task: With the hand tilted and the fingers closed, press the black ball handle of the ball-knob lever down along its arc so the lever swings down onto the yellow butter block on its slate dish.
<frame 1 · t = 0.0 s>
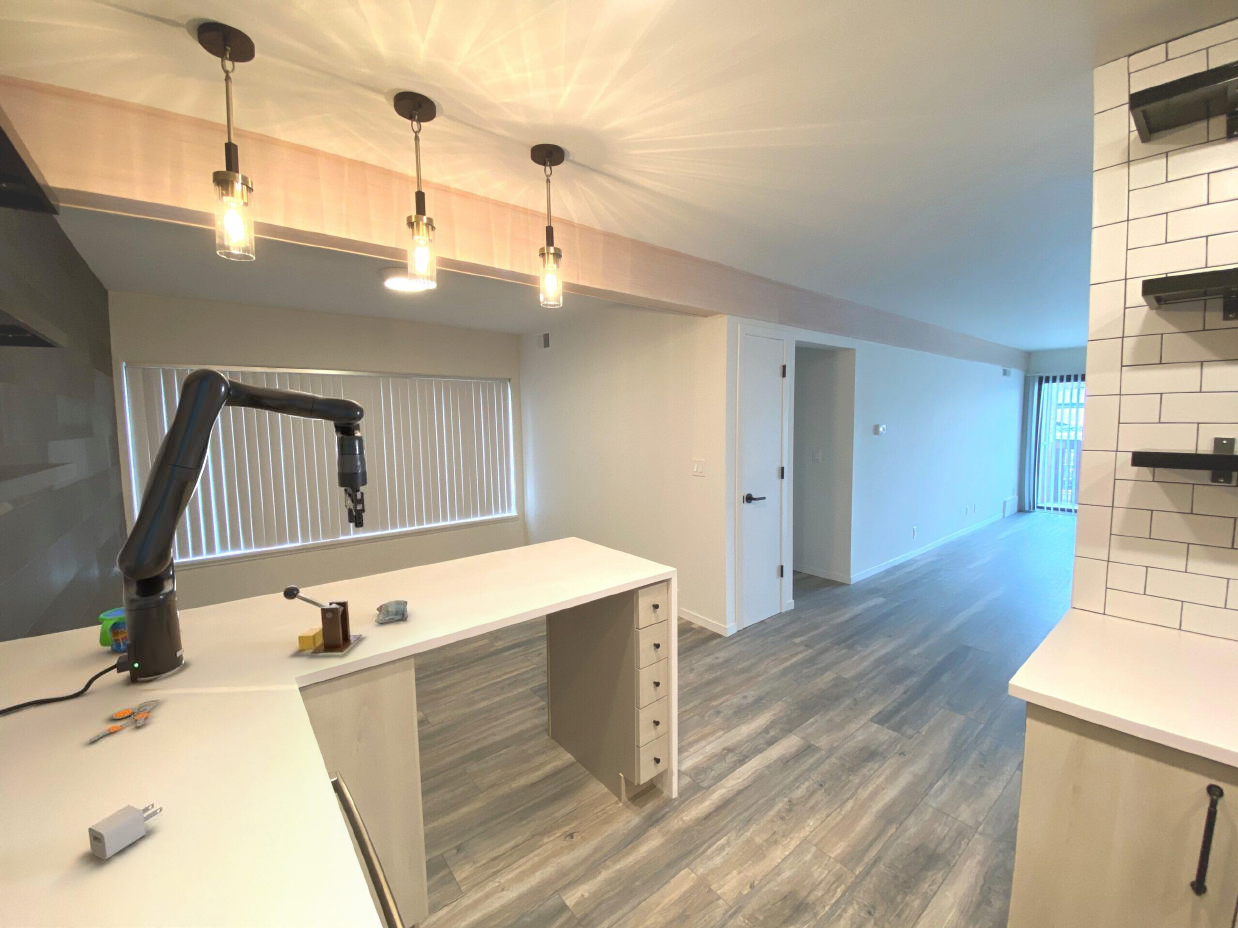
hand: (355, 525, 147), 29 cm above the countertop, tool pointing down, fingers open, 8 cm apart
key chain: (128, 721, 102), on the countertop
butter: (312, 648, 133), on the countertop
ball-knob lever: (312, 601, 132), point 13 cm above the countertop, hinge at 26.0°
usb wall charger: (130, 838, 73), on the countertop
brown lever base bracket: (337, 647, 133), on the countertop
snack cup: (131, 647, 136), on the countertop
packaged food: (391, 620, 151), on the countertop
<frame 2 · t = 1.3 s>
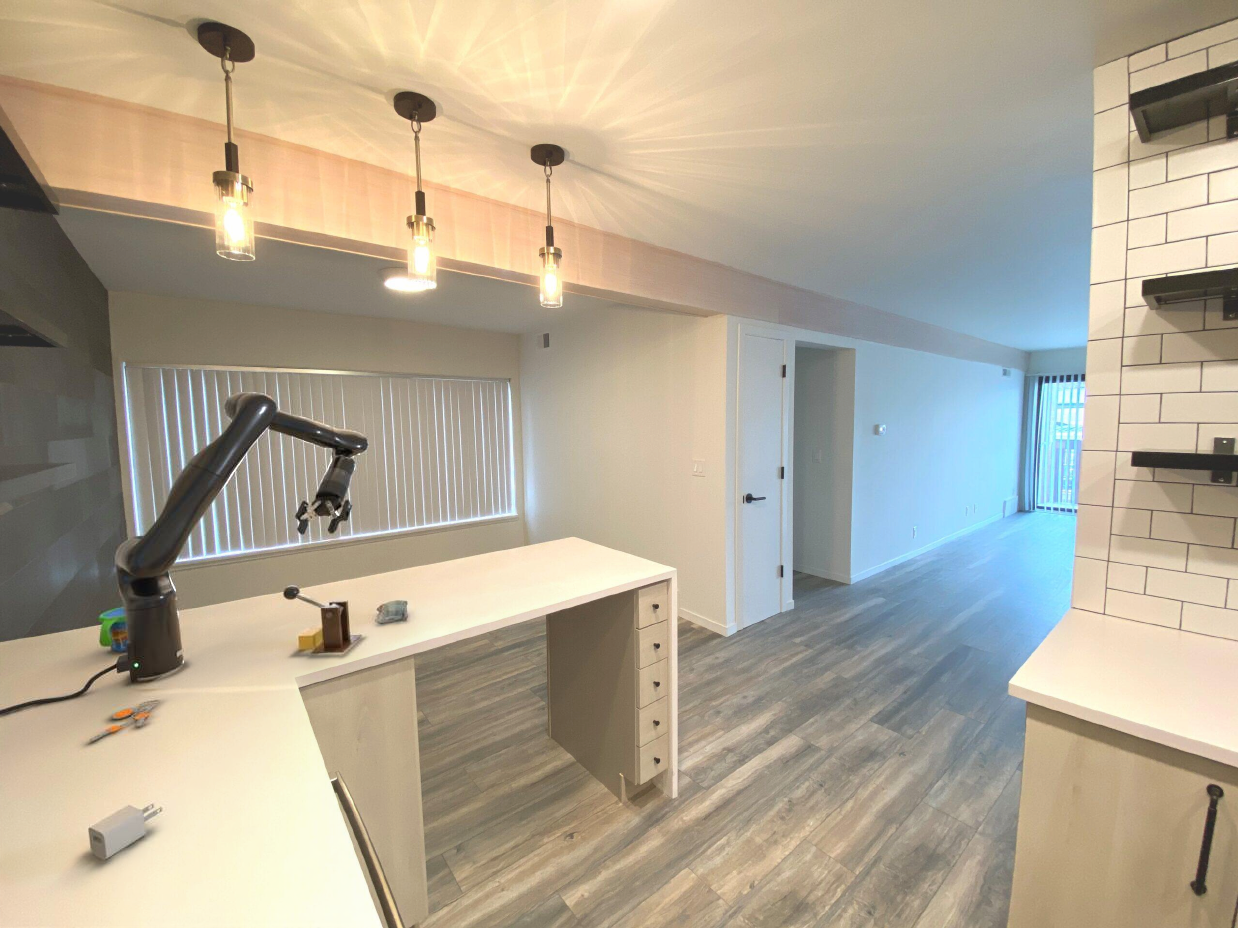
hand: (315, 532, 143), 28 cm above the countertop, tool tilted 45°, fingers open, 8 cm apart
nothing on the countertop moved.
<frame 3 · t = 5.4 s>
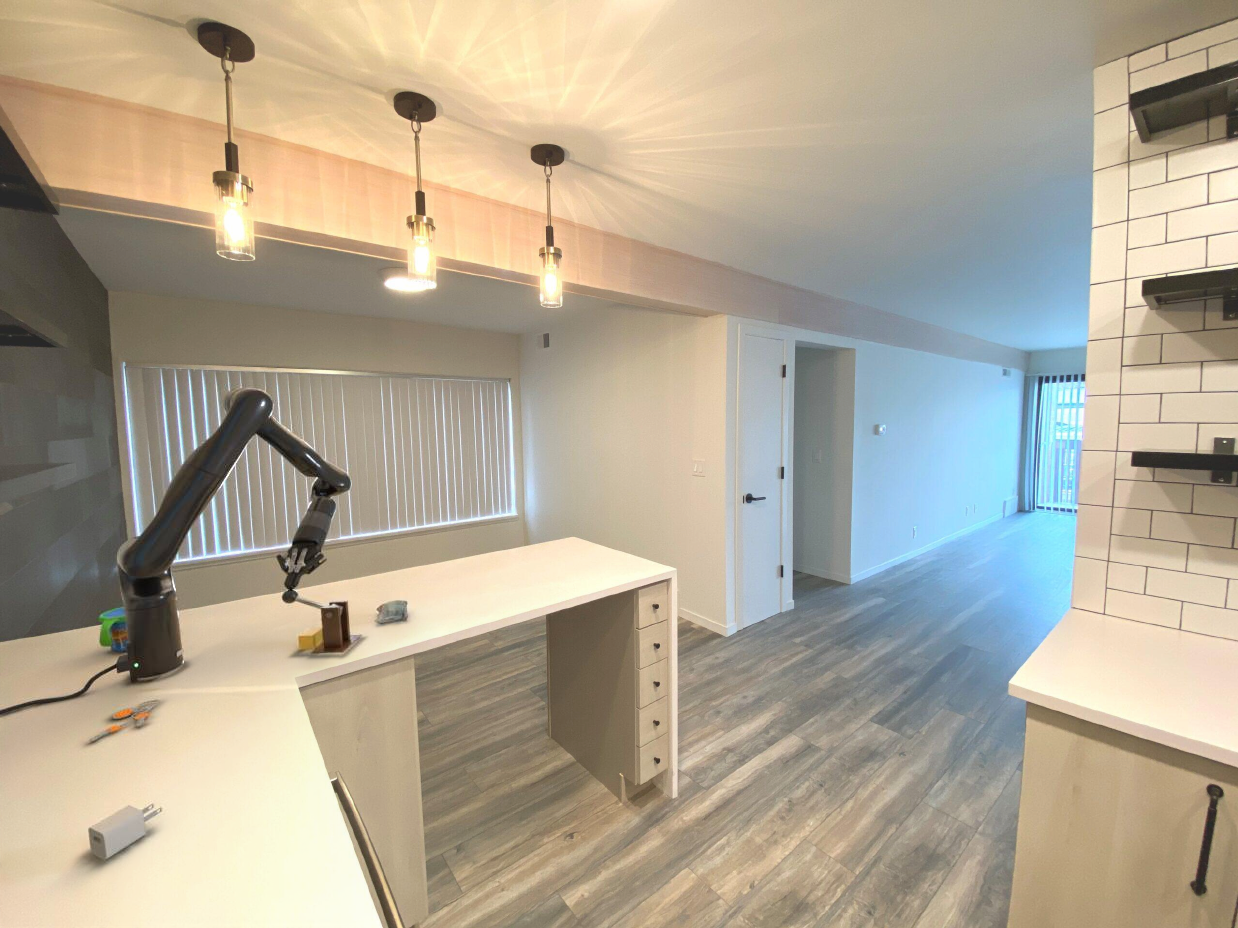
hand: (289, 587, 131), 17 cm above the countertop, tool tilted 45°, fingers closed
ball-knob lever: (311, 603, 132), point 12 cm above the countertop, hinge at 20.9°
everything else where it was.
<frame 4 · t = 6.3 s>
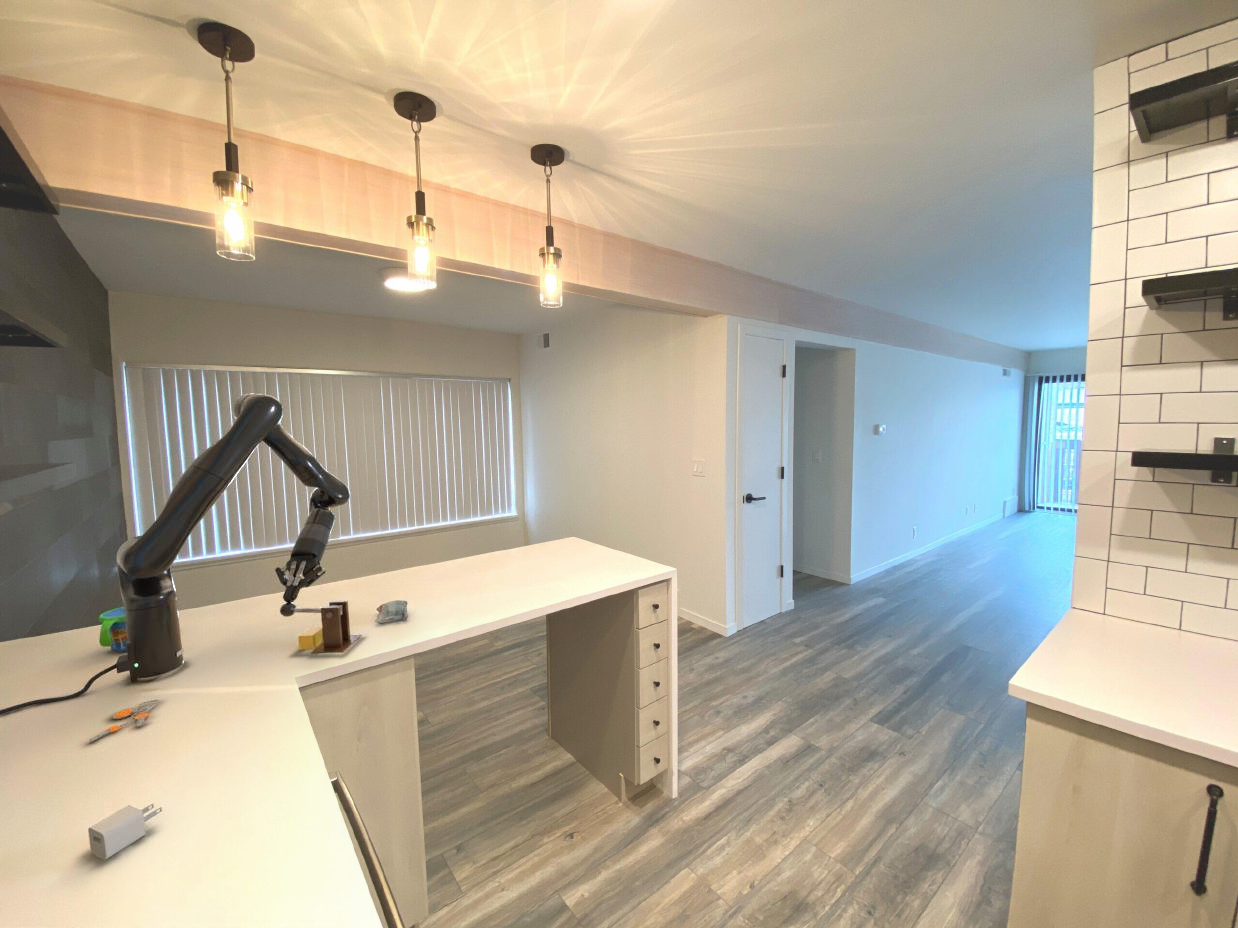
hand: (288, 601, 131), 13 cm above the countertop, tool tilted 45°, fingers closed
ball-knob lever: (310, 610, 132), point 10 cm above the countertop, hinge at 3.6°
everything else where it was.
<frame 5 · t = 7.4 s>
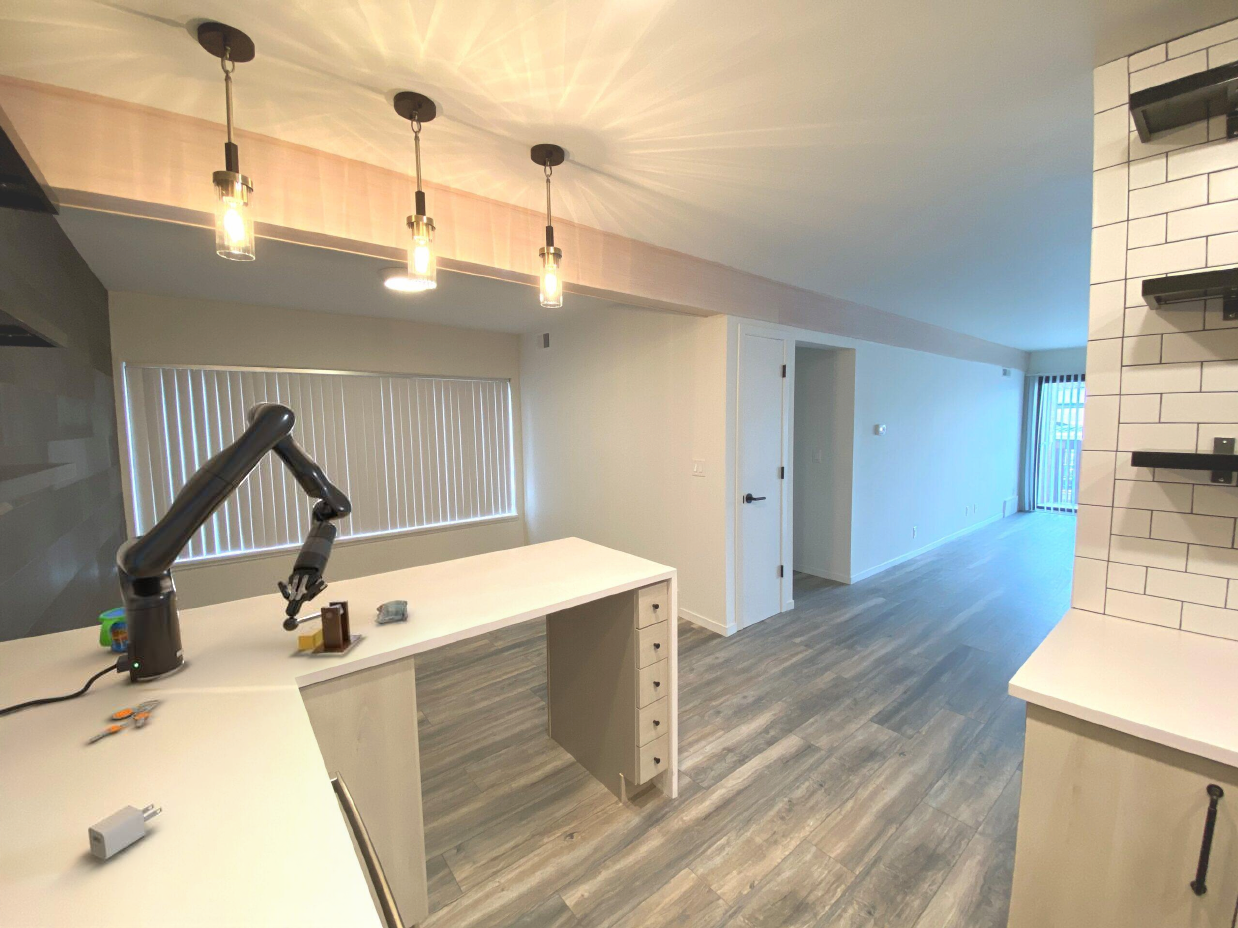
hand: (290, 615, 132), 9 cm above the countertop, tool tilted 45°, fingers closed
ball-knob lever: (312, 617, 132), point 8 cm above the countertop, hinge at -15.3°, touching gripper
everything else where it was.
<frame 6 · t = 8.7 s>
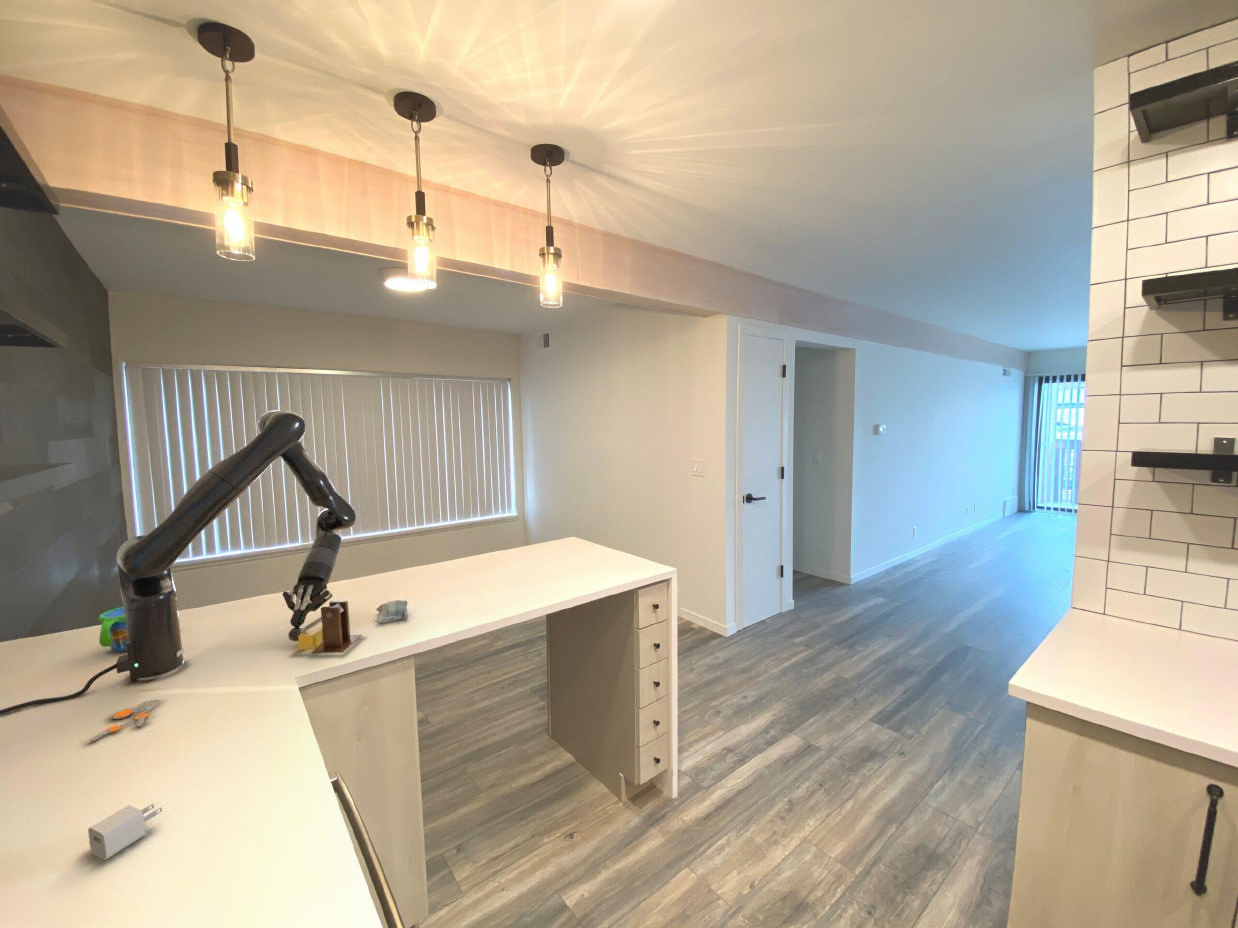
hand: (295, 625, 132), 6 cm above the countertop, tool tilted 45°, fingers closed
ball-knob lever: (315, 622, 132), point 7 cm above the countertop, hinge at -29.9°, touching butter, gripper
everything else where it was.
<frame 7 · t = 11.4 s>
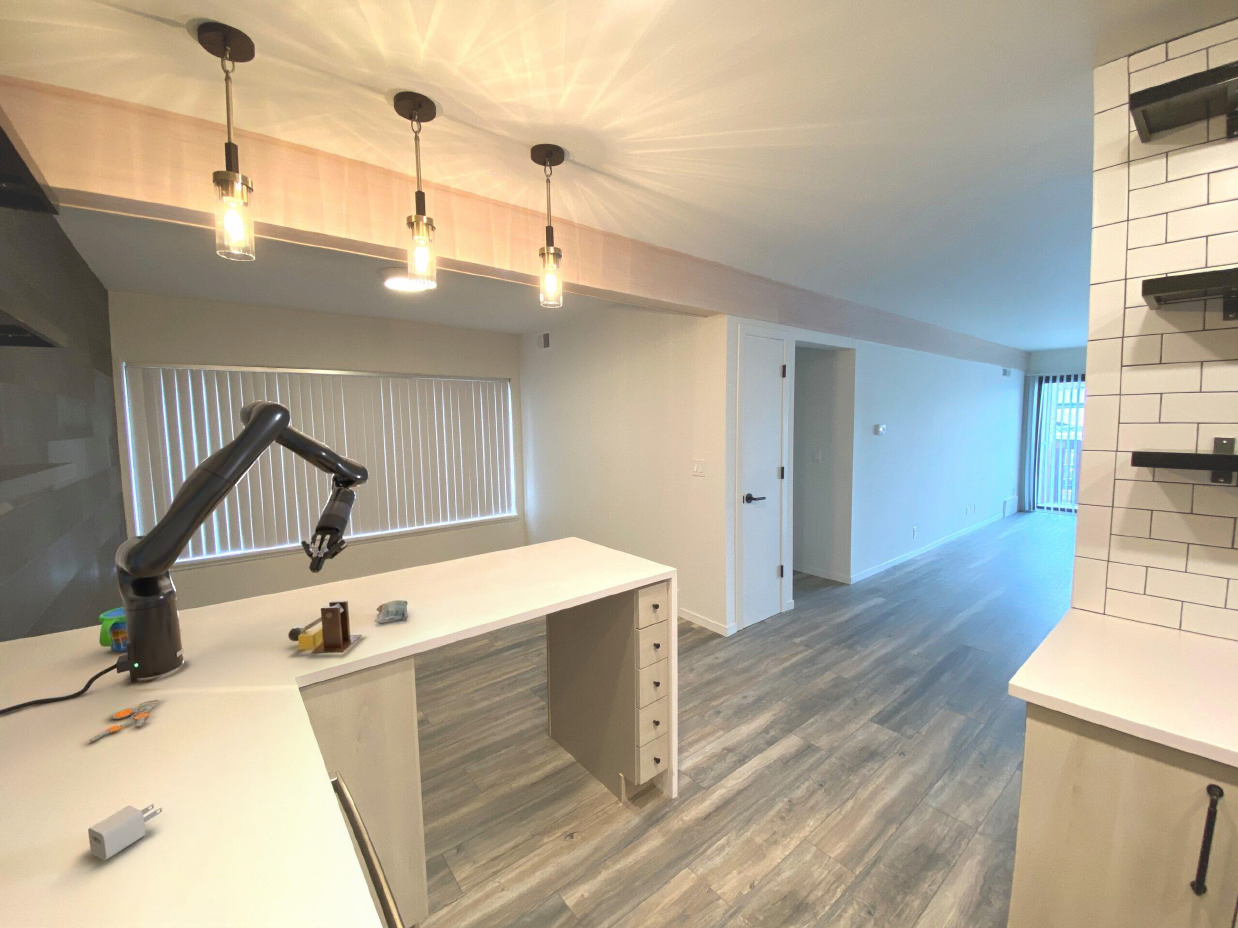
hand: (314, 571, 141), 18 cm above the countertop, tool tilted 45°, fingers closed
ball-knob lever: (315, 622, 132), point 7 cm above the countertop, hinge at -29.9°, touching butter
everything else where it was.
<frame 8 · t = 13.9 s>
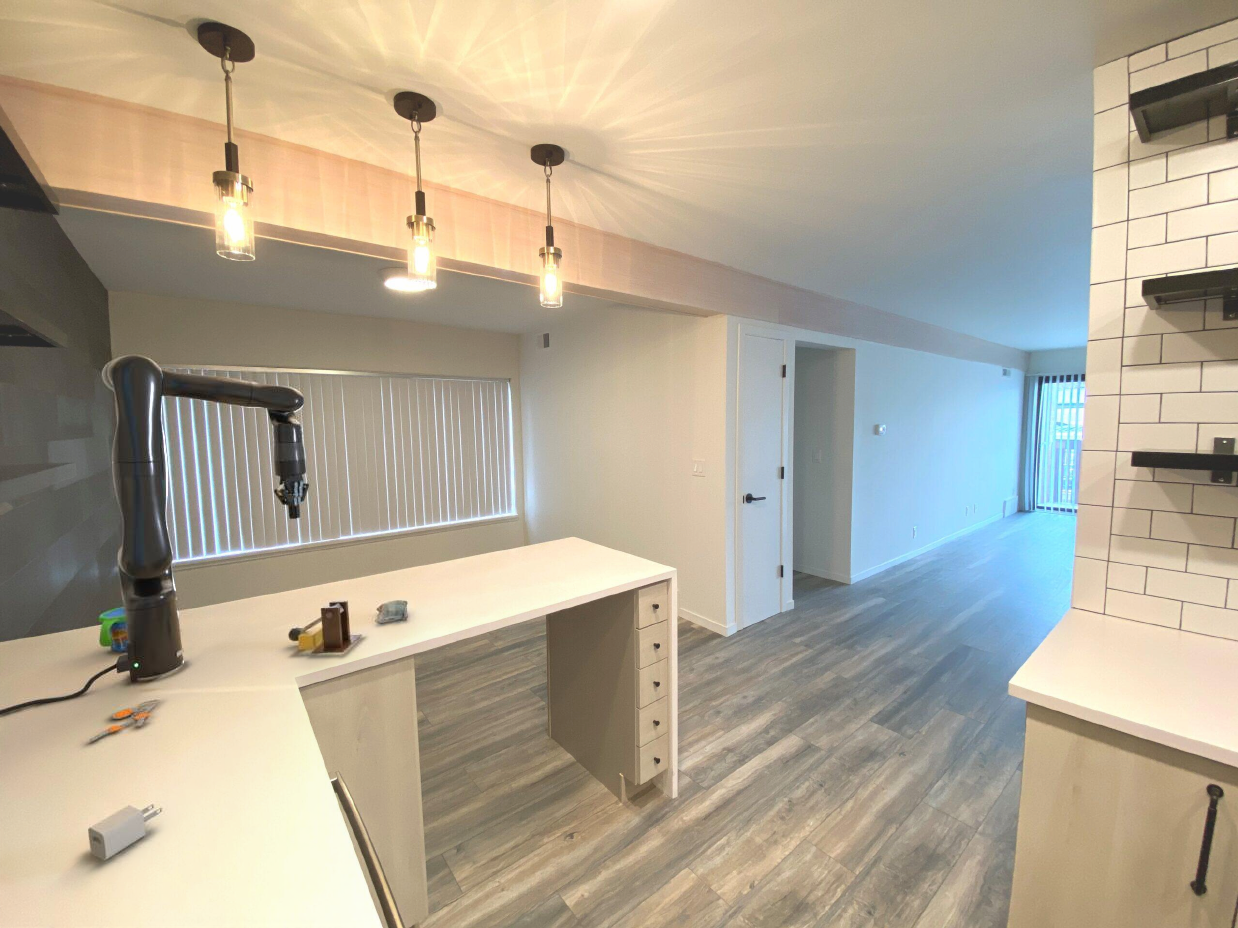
hand: (294, 518, 145), 32 cm above the countertop, tool pointing down, fingers closed
nothing on the countertop moved.
at the end: ball-knob lever at -30° (first picture: +26°); ball-knob lever reached -30° during the clip, -30° at the end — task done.
